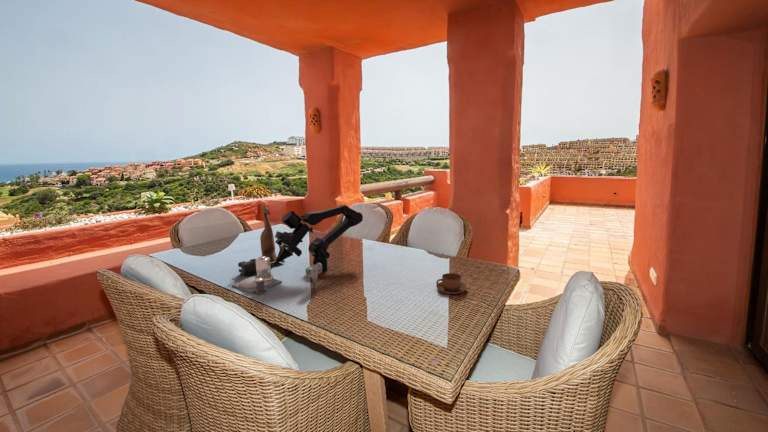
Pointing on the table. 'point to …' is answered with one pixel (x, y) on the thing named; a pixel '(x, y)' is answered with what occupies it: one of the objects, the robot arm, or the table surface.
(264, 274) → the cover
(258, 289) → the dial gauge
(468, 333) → the table surface
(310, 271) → the mechanical component
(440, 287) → the cup and saucer
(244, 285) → the turntable
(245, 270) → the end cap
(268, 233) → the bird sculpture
